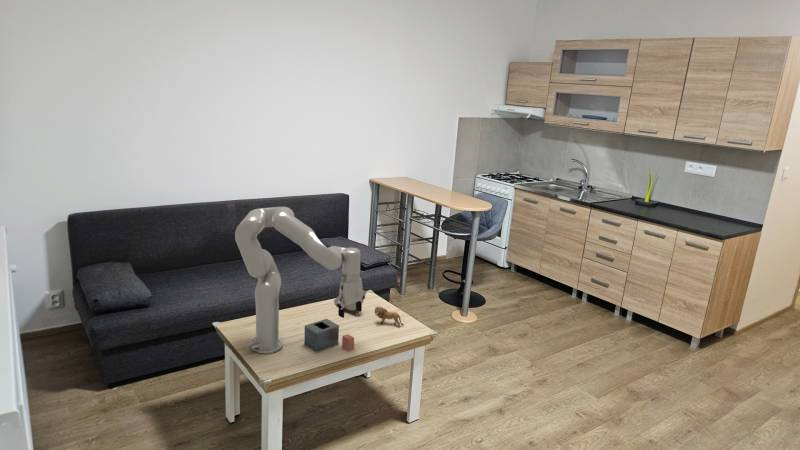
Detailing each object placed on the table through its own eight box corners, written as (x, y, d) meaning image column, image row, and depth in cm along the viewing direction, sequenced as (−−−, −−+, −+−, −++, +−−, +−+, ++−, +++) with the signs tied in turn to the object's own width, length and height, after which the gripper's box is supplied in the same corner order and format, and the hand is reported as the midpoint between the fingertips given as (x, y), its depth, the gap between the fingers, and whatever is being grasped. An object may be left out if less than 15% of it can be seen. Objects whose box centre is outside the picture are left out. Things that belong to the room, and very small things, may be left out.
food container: (366, 313, 269) (366, 295, 266) (358, 317, 263) (359, 298, 261) (346, 307, 275) (347, 289, 272) (339, 310, 270) (340, 292, 267)
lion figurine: (373, 325, 256) (374, 308, 253) (374, 320, 261) (375, 304, 259) (403, 328, 255) (404, 310, 253) (404, 323, 260) (405, 306, 258)
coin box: (316, 352, 227) (316, 332, 225) (304, 344, 233) (304, 325, 231) (338, 343, 235) (339, 325, 233) (326, 336, 241) (326, 318, 239)
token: (348, 351, 230) (348, 339, 228) (342, 347, 233) (342, 335, 231) (353, 349, 232) (354, 337, 230) (347, 345, 235) (347, 333, 233)
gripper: (340, 283, 215) (339, 322, 220) (372, 274, 227) (370, 311, 232) (329, 278, 220) (328, 316, 225) (360, 270, 232) (359, 305, 237)
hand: (350, 313), depth 228 cm, fingers open, 9 cm apart
